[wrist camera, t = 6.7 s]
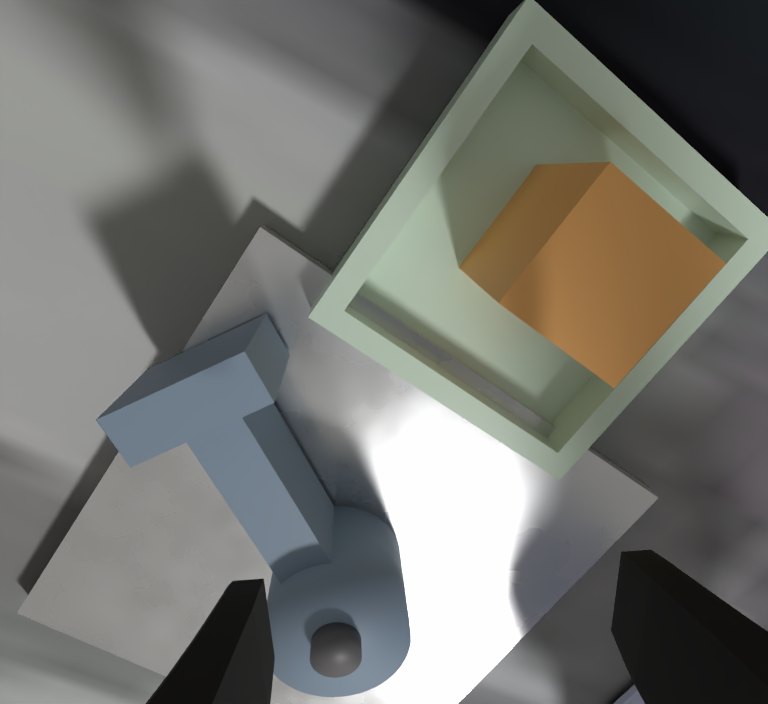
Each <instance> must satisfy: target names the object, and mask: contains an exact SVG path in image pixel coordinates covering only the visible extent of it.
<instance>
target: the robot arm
mask: <svg viewBox="0 0 768 704" xmlns="http://www.w3.org/2000/svg"><path fill="white" fill-rule="evenodd" d="M611 631H612V634H613V636H614V638H615V641H616V643H617V646H618V648H619V651H620V653H621V655H622V658H623V660H624V662H625V665H626V667H627V669H628V671H629V674H630V676H631V678H632V680H633V683H634V685H633V686H632V687H631V688H630V689H629V690H627V691H626V692H625V693H624V694H623V695H622V696H621V697H620V698H619V699H618V700H617V701H615V702H614V703H613V704H768V632H767V631H766V630H765V629H763V628H762V627H760V626H759V625H757V624H756V623H754V622H753V621H751V620H750V619H749V618H747V617H746V616H744V615H743V614H741V613H740V612H739V611H737V610H736V609H734V608H733V607H731V606H730V605H729V604H727V603H726V602H724V601H723V600H722V599H720V598H719V597H717V596H716V595H715V594H713V593H712V592H710V591H709V590H708V589H706V588H705V587H703V586H702V585H701V584H699V583H698V582H696V581H695V580H694V579H692V578H691V577H689V576H688V575H687V574H685V573H684V572H682V571H681V570H680V569H678V568H677V567H675V566H674V565H673V564H671V563H670V562H668V561H667V560H665V559H664V558H663V557H661V556H660V555H658V554H657V553H655V552H654V551H652V550H641V551H627V552H621V559H620V567H619V575H618V582H617V590H616V597H615V605H614V613H613V620H612V628H611ZM274 661H275V655H274V648H273V641H272V634H271V627H270V619H269V612H268V605H267V598H266V591H265V584H264V579H250V580H237V581H232V582H231V583H230V584H229V585H228V586H227V588H226V589H225V591H224V593H223V594H222V596H221V597H220V599H219V600H218V602H217V604H216V605H215V607H214V608H213V610H212V611H211V613H210V614H209V616H208V618H207V619H206V621H205V622H204V624H203V625H202V627H201V628H200V630H199V631H198V633H197V634H196V635H195V637H194V638H193V640H192V641H191V643H190V644H189V646H188V647H187V648H186V650H185V651H184V653H183V654H182V655H181V657H180V658H179V660H178V661H177V663H176V664H175V665H174V667H173V668H172V670H171V671H170V672H169V674H168V675H167V677H166V678H165V679H164V681H163V682H162V683H161V685H160V686H159V687H158V689H157V690H156V691H155V692H154V694H153V695H152V696H151V698H150V699H149V700H148V701H147V703H146V704H270V702H271V693H272V682H273V672H274Z"/></svg>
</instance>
